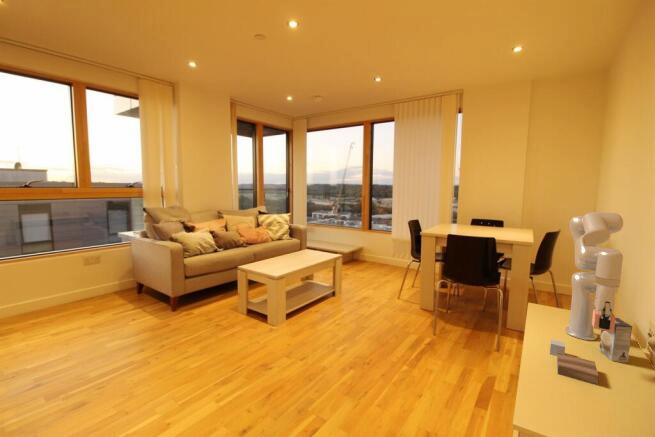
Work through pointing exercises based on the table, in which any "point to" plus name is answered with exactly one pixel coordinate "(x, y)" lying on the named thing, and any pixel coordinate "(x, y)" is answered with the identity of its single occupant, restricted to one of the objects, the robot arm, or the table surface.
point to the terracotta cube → (597, 316)
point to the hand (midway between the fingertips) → (602, 325)
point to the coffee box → (616, 341)
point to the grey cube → (557, 347)
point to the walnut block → (577, 368)
